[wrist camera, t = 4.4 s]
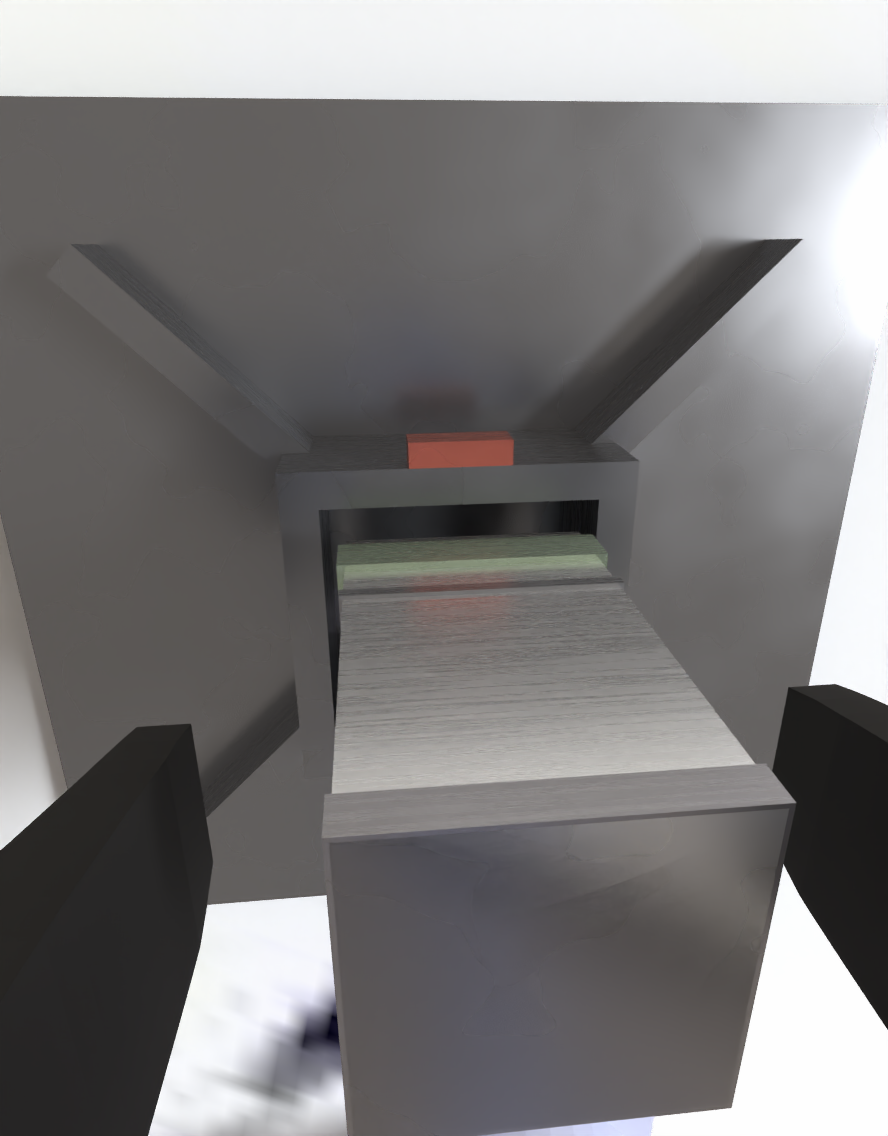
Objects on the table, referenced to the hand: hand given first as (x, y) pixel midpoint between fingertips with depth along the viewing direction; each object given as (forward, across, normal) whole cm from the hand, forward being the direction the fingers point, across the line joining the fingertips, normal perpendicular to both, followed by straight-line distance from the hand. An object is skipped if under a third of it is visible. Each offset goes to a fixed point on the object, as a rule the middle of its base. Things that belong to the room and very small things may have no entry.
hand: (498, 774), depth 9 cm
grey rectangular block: (+4, 0, 0) cm, 4 cm away
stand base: (+7, 0, 0) cm, 7 cm away
